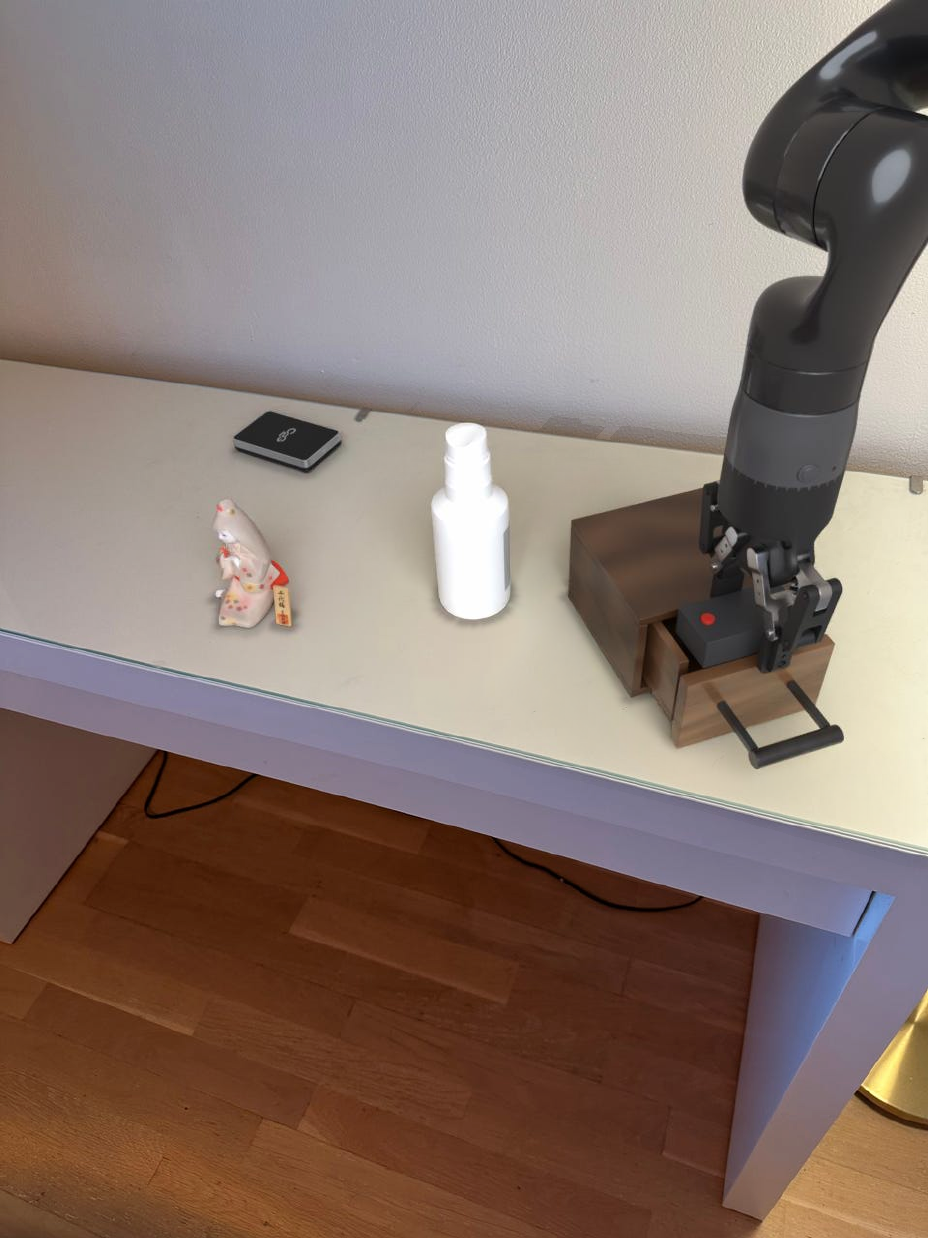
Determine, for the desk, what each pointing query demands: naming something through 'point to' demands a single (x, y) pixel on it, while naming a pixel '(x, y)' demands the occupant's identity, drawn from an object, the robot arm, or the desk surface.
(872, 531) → the desk surface
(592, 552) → the cabinet
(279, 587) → the figurine
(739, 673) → the drawer
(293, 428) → the external hard drive
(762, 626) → the remote
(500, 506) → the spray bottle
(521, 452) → the desk surface
